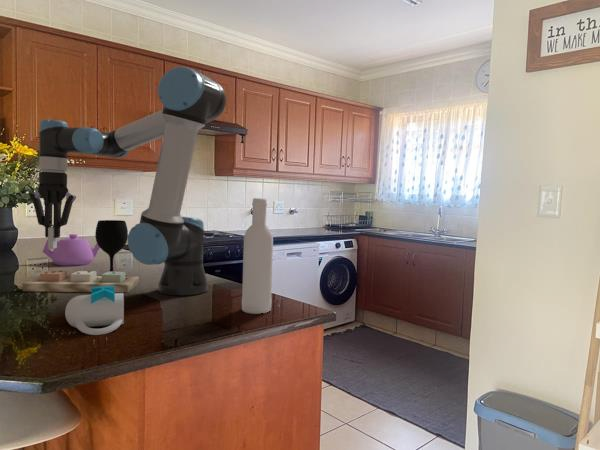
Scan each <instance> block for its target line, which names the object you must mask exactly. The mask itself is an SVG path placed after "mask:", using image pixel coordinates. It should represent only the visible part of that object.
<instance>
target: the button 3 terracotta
mask: <svg viewBox="0 0 600 450" xmlns="http://www.w3.org/2000/svg"><path fill="white" fill-rule="evenodd" d="M67 276H68V271H67V270H47V271H43V272H41V273H39V277H40V281H47V282H61V281H63V280H65V279H67Z"/></svg>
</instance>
